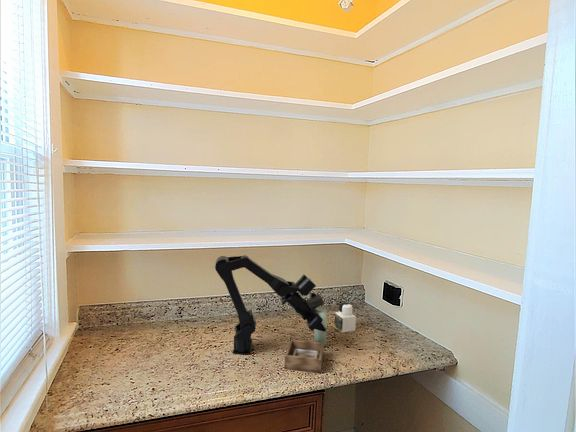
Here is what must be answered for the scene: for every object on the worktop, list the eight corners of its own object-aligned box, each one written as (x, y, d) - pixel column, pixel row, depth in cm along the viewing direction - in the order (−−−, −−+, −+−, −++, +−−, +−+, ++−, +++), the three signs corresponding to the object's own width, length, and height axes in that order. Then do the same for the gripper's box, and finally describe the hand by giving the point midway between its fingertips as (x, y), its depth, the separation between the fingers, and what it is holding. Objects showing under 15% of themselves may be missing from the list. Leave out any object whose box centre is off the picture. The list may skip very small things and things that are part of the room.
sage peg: (313, 345, 143) (314, 312, 141) (314, 340, 148) (315, 308, 146) (325, 347, 142) (326, 313, 141) (326, 341, 147) (327, 309, 146)
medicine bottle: (334, 326, 164) (335, 302, 163) (347, 324, 166) (348, 300, 165) (341, 333, 157) (342, 307, 156) (355, 331, 160) (356, 305, 159)
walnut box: (284, 369, 126) (284, 355, 126) (290, 351, 139) (290, 339, 139) (320, 373, 124) (321, 359, 123) (323, 355, 137) (323, 343, 136)
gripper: (318, 296, 133) (344, 323, 136) (307, 282, 151) (330, 306, 154) (297, 317, 132) (324, 343, 135) (288, 300, 150) (312, 324, 153)
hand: (323, 328), depth 144 cm, fingers closed on sage peg, 5 cm apart
